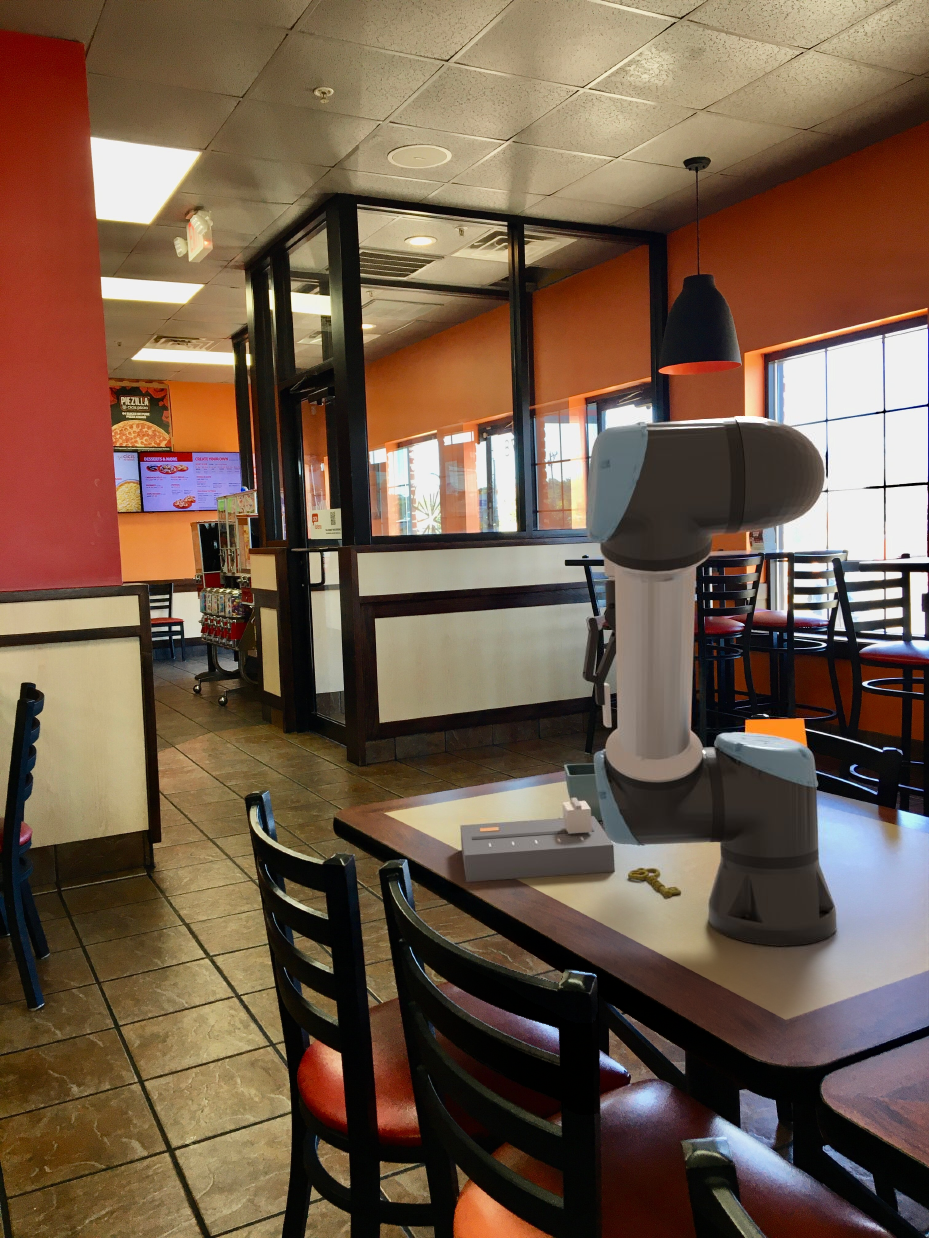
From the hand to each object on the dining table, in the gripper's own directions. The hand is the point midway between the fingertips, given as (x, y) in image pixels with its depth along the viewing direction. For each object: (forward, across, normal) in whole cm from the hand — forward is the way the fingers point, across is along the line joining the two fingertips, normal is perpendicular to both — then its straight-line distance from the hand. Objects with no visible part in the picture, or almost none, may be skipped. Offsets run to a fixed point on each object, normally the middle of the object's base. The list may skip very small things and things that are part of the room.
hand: (636, 723), depth 148 cm
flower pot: (+21, +4, -21) cm, 30 cm away
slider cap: (+16, +10, 0) cm, 19 cm away
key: (+21, +2, +14) cm, 25 cm away
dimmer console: (+20, +17, 0) cm, 26 cm away
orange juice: (+21, -21, +2) cm, 29 cm away
